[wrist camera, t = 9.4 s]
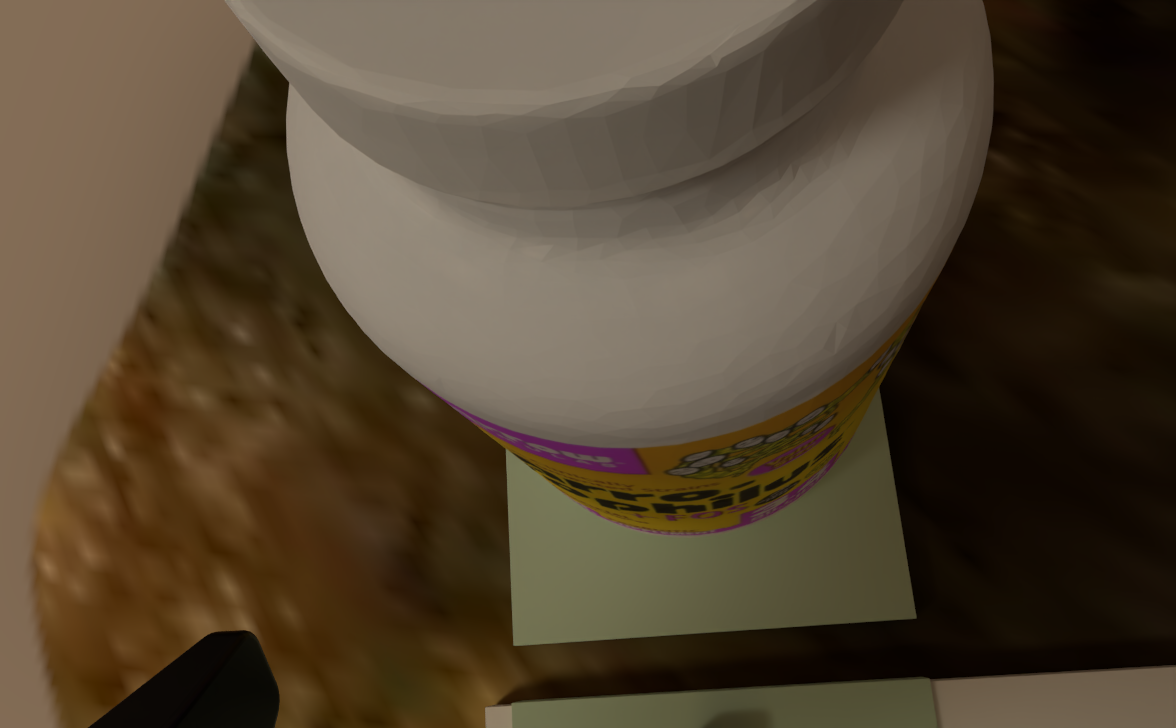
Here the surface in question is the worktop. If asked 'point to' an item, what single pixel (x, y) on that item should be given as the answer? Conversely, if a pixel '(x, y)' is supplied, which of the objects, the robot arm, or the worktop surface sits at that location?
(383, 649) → the worktop surface
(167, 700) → the robot arm
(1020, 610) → the worktop surface
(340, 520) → the worktop surface
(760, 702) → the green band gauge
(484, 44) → the supplement bottle
